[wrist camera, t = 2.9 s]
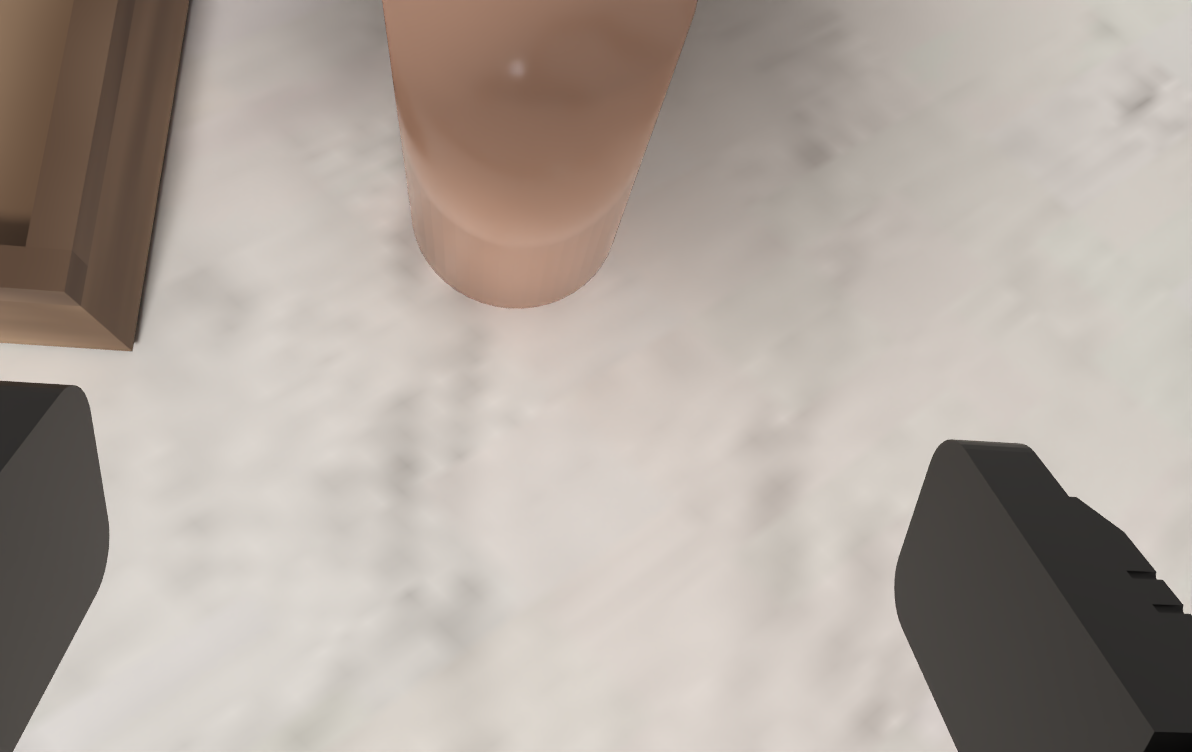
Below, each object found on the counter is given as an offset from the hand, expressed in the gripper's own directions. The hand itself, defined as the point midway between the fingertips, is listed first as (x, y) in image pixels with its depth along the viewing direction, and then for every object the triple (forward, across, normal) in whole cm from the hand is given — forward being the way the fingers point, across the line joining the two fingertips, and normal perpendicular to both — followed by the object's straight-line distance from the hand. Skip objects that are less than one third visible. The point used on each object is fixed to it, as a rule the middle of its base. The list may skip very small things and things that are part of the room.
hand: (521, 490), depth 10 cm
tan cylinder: (+14, 0, +3) cm, 15 cm away
